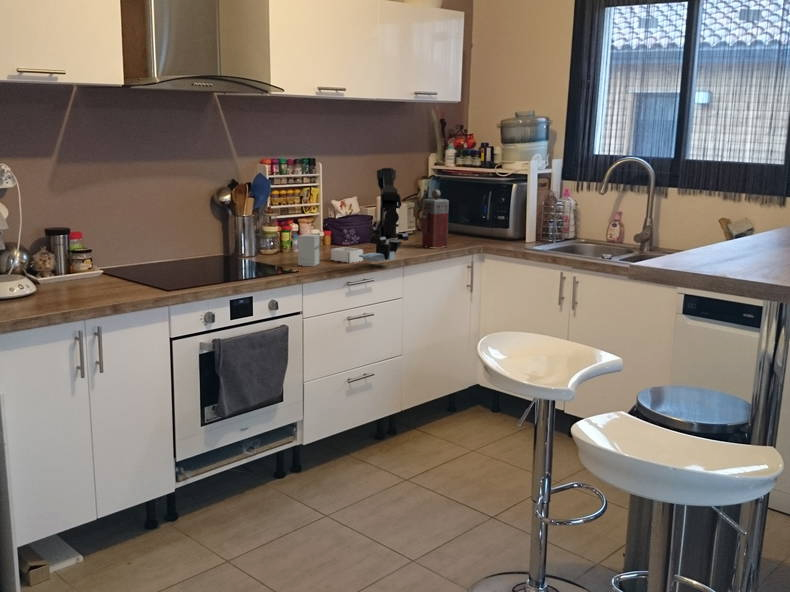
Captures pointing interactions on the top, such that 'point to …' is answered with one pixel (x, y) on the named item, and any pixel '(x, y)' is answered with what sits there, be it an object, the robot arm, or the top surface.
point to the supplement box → (308, 249)
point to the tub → (346, 254)
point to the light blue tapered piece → (377, 256)
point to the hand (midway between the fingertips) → (389, 259)
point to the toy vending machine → (435, 221)
